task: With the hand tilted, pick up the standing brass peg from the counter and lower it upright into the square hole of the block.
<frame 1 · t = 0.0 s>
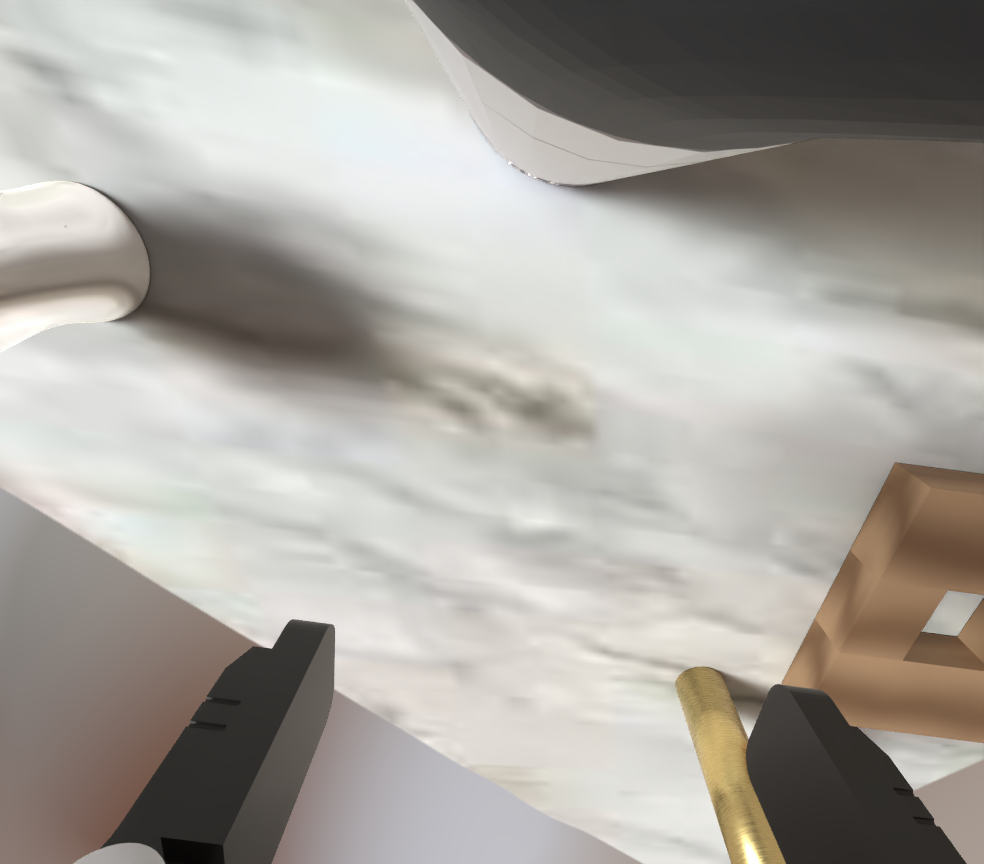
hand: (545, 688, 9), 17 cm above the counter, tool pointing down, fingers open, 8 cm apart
beer glass: (88, 253, 24), on the counter
block: (935, 599, 29), on the counter
peg: (699, 683, 33), on the counter
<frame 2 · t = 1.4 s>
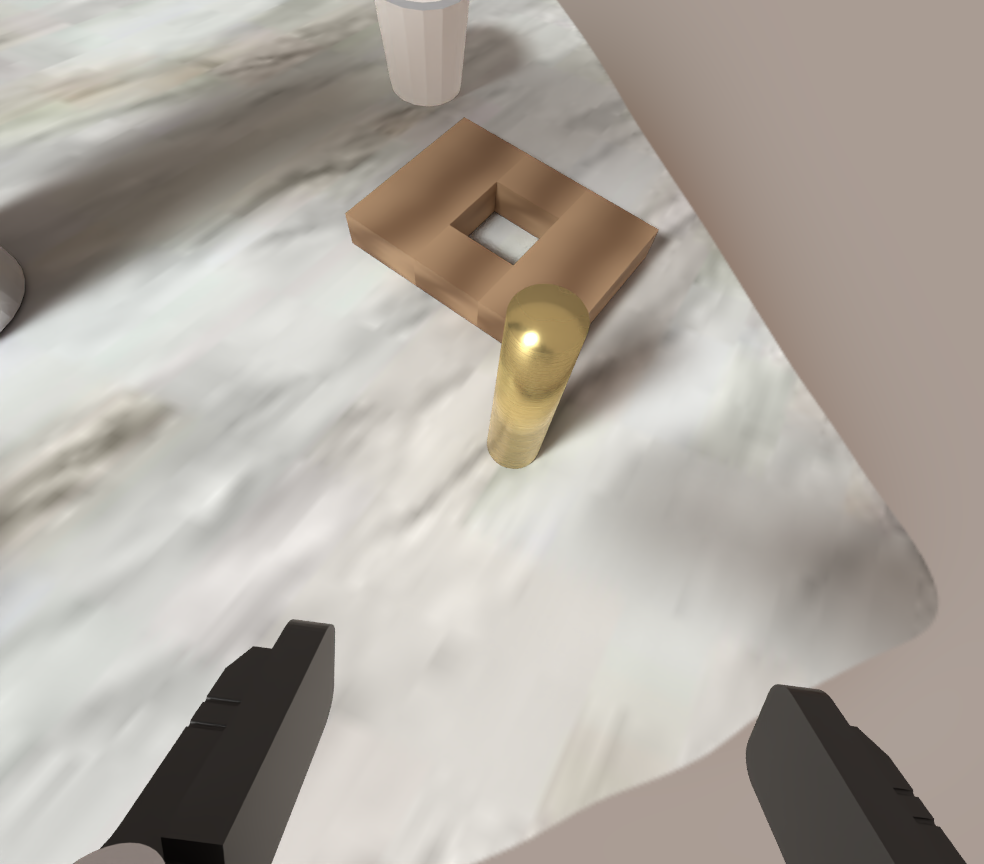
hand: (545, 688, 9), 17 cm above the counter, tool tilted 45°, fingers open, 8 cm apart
shot glass: (426, 85, 41), on the counter
block: (501, 250, 35), on the counter
peg: (513, 443, 29), on the counter
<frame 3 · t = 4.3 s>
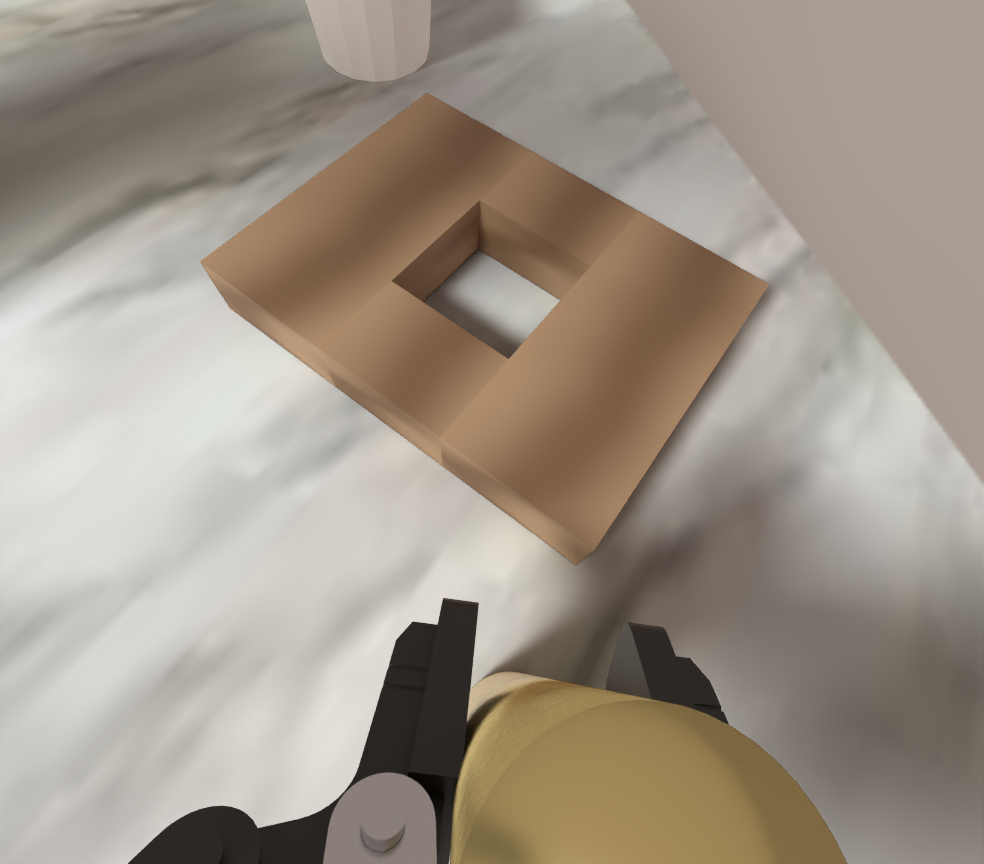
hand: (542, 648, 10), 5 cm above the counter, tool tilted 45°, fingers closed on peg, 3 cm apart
shot glass: (376, 52, 27), on the counter
block: (489, 317, 20), on the counter
peg: (509, 729, 14), on the counter, touching gripper
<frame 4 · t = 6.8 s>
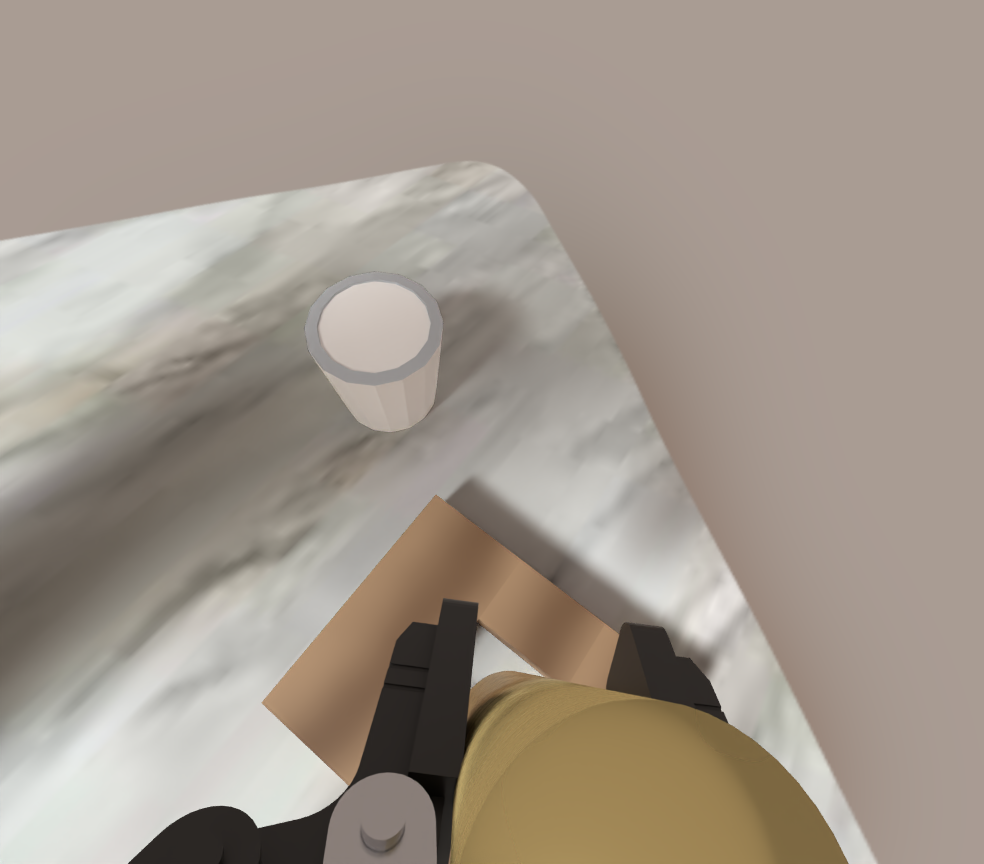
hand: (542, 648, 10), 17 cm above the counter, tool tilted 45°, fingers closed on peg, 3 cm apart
shot glass: (391, 392, 32), on the counter
block: (486, 697, 25), on the counter
peg: (509, 729, 14), point 12 cm above the counter, touching gripper
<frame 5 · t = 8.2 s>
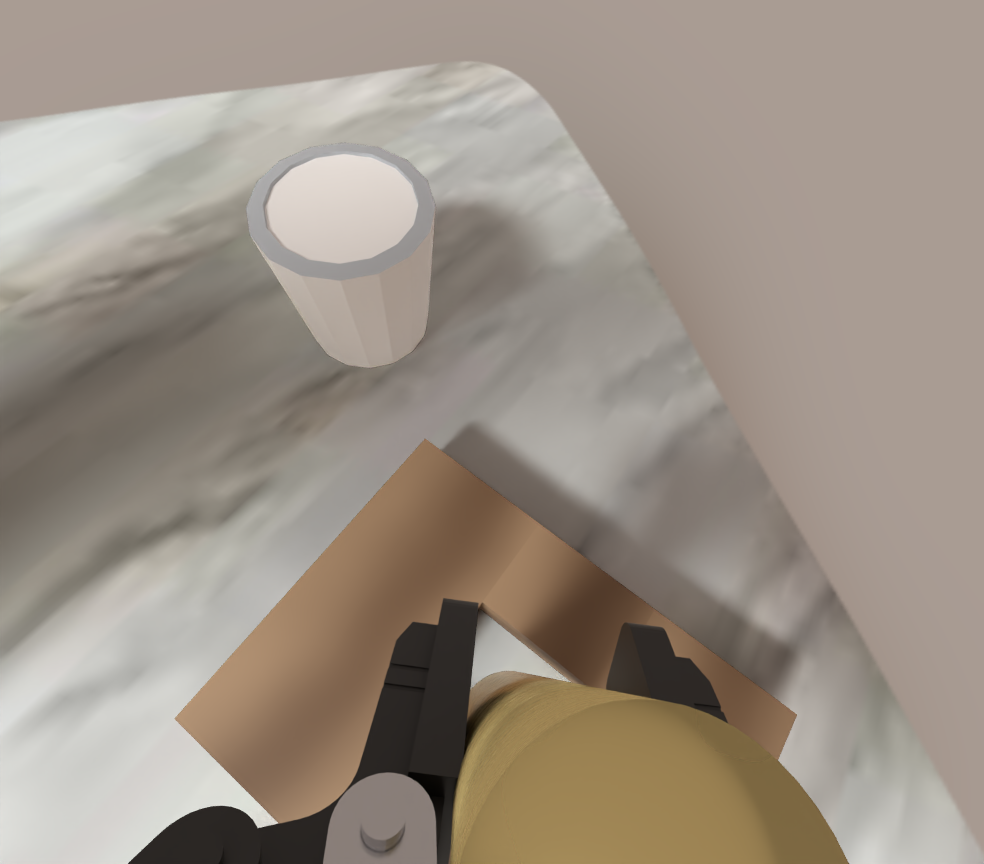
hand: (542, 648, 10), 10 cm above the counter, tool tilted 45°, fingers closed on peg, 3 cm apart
shot glass: (371, 321, 25), on the counter
block: (491, 709, 19), on the counter
peg: (509, 729, 14), point 5 cm above the counter, touching gripper
when the fingers open (7 cm above the counter, at t = 9.3 s): peg drops 1 cm, resting in block.
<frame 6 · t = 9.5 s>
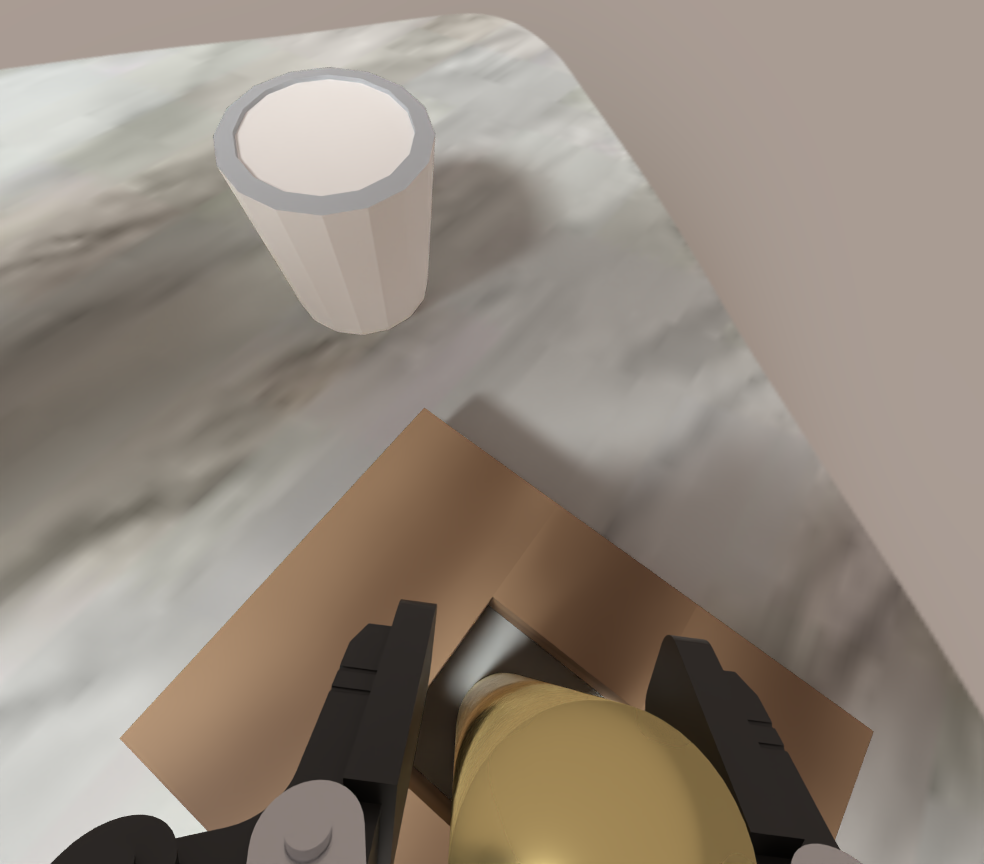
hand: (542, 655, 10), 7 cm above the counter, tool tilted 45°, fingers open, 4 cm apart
shot glass: (364, 284, 23), on the counter
block: (504, 723, 16), on the counter
peg: (504, 726, 16), resting in block
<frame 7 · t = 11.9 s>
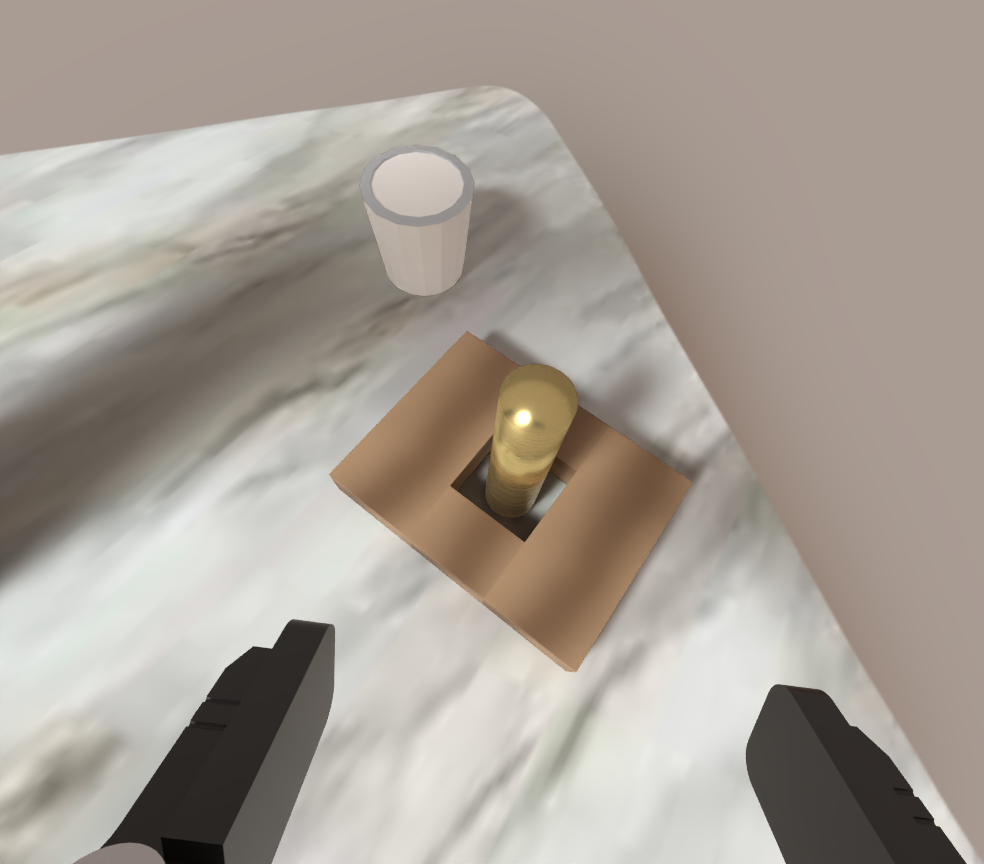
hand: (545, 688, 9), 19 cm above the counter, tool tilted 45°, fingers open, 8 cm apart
shot glass: (424, 266, 37), on the counter
block: (510, 492, 30), on the counter
peg: (510, 493, 30), resting in block
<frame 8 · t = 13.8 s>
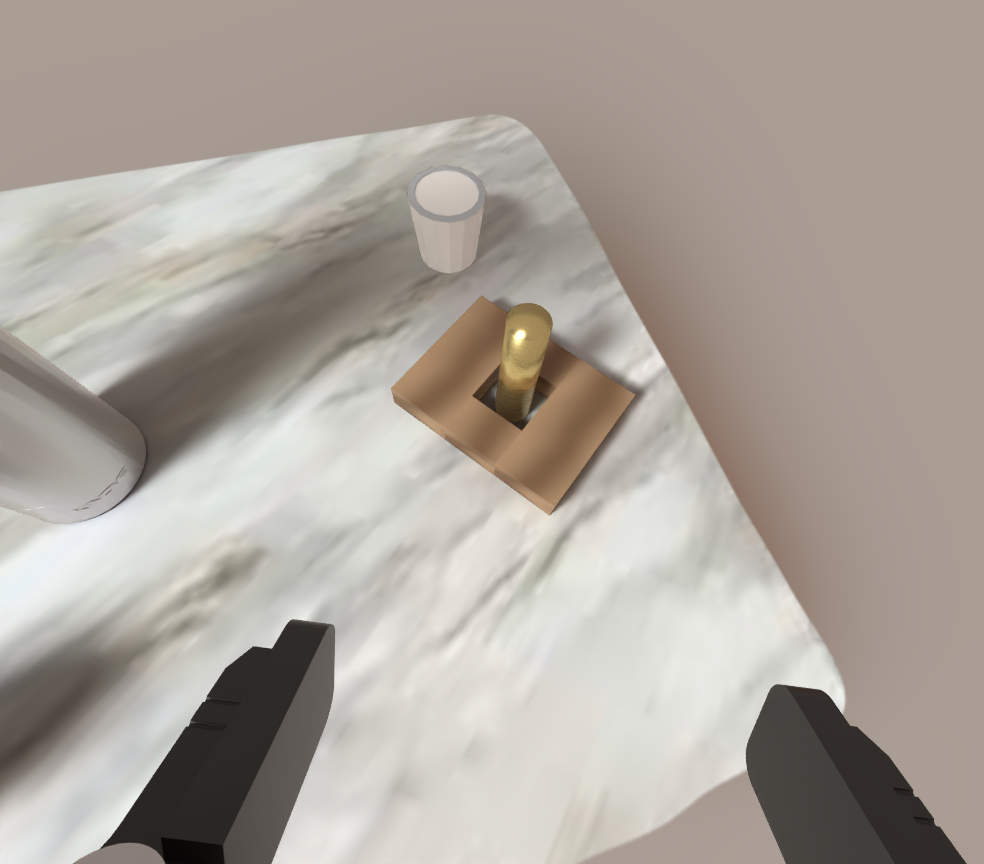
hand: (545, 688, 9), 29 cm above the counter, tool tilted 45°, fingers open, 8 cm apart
shot glass: (448, 252, 51), on the counter
block: (511, 405, 44), on the counter
peg: (512, 406, 44), resting in block
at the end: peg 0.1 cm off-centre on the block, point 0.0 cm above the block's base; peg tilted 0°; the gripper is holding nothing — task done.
